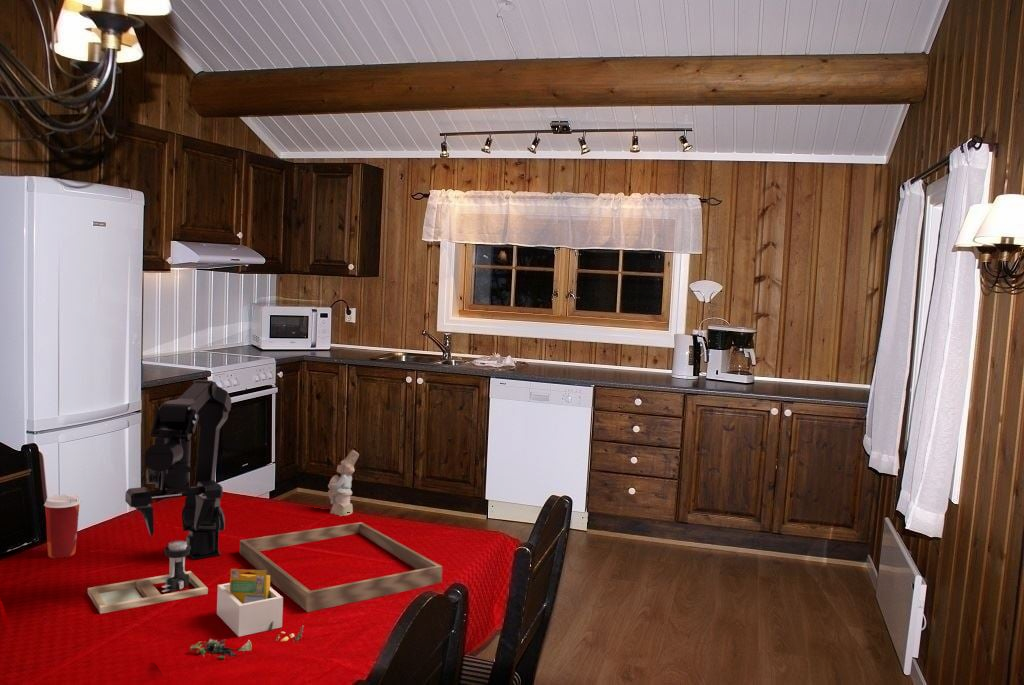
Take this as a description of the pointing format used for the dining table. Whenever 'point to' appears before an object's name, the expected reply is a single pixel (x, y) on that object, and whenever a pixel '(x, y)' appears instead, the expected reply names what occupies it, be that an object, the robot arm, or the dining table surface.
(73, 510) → the paper cup
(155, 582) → the wooden double frame
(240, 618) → the crayon stand
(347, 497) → the figurine
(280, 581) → the tray rim
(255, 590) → the crayon box
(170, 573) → the push button
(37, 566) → the dining table surface
